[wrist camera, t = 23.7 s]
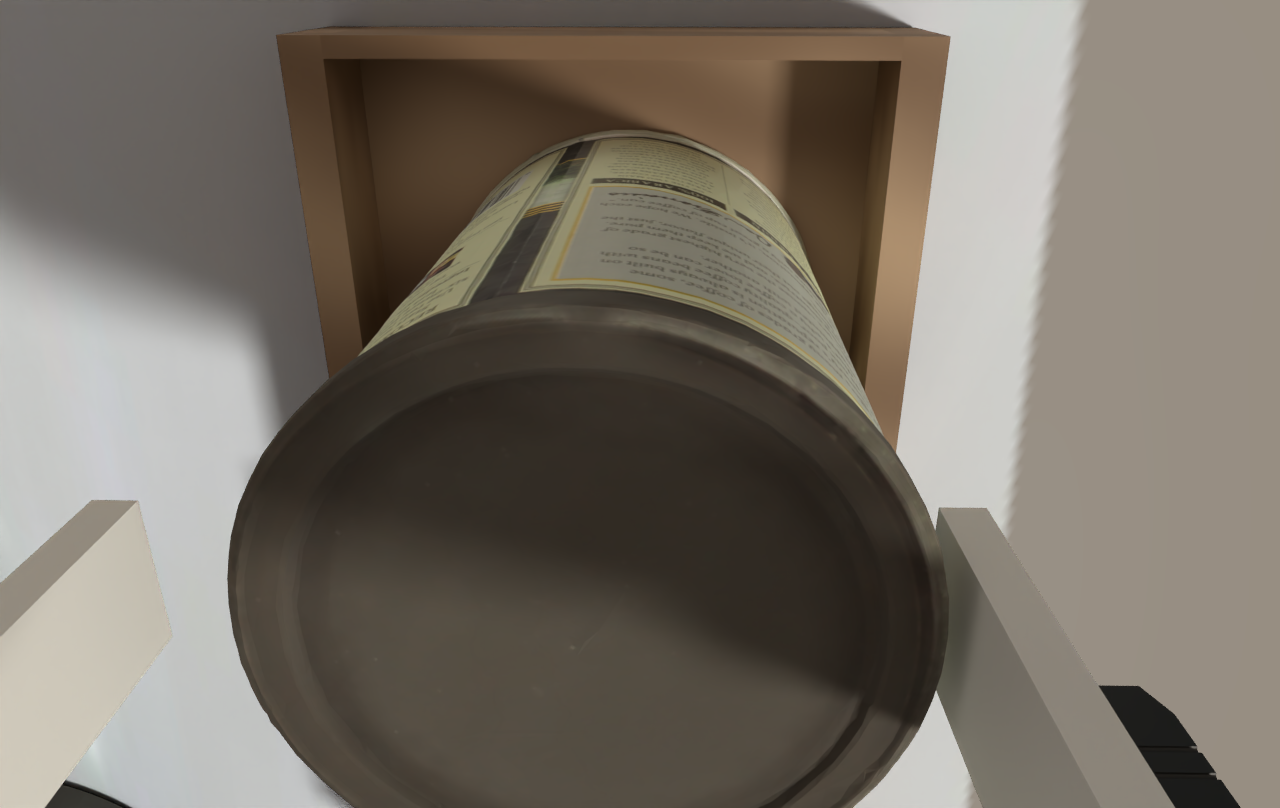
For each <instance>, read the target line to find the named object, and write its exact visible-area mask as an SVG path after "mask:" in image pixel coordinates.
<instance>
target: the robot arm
mask: <svg viewBox="0 0 1280 808" xmlns="http://www.w3.org/2000/svg"><path fill="white" fill-rule="evenodd" d="M935 532H936V534H937V537H938V540H939V543H940V547H941V550H942V554H943V561H944V568H945V573H946V582H947V588H948V595H949V626H948V641H947V647H946V653H945V658H944V664H943V669H942V674H941V677H940V680H939V682H938V685H937V688H936V691H937V693H938V696H939V698H940V701H941V703H942V706H943V708H944V711H945V713H946V716H947V719H948V721H949V724H950V726H951V729H952V731H953V734H954V736H955V739H956V741H957V744H958V746H959V749H960V751H961V754H962V756H963V759H964V761H965V764H966V767H967V769H968V772H969V774H970V777H971V779H972V782H973V784H974V787H975V789H976V792H977V794H978V797H979V799H980V802H981V804H982V807H983V808H1240V806H1239V805H1238V803H1237V802H1236V801H1235V799H1234V798H1233V796H1232V795H1231V794H1230V792H1229V791H1228V789H1227V788H1226V786H1225V785H1224V783H1223V782H1222V781H1221V780H1217V778H1216V772H1215V771H1214V769H1213V768H1212V767H1211V765H1210V764H1209V762H1208V761H1207V760H1206V758H1205V757H1204V755H1203V754H1202V753H1198V751H1197V745H1196V744H1195V743H1194V741H1193V740H1192V738H1191V737H1190V736H1189V734H1188V733H1187V731H1186V730H1185V729H1184V727H1183V726H1182V724H1181V723H1180V721H1179V720H1178V719H1177V717H1176V716H1175V715H1174V714H1173V713H1172V712H1171V711H1169V710H1168V709H1167V708H1166V707H1165V706H1163V705H1162V704H1161V703H1160V702H1158V701H1157V700H1156V699H1155V698H1153V697H1152V696H1151V695H1149V694H1148V693H1147V692H1145V691H1144V690H1143V689H1142V688H1141V687H1139V686H1098V684H1097V683H1096V681H1095V680H1094V678H1093V676H1092V675H1091V673H1090V672H1089V670H1088V669H1087V667H1086V665H1085V664H1084V662H1083V661H1082V659H1081V657H1080V656H1079V654H1078V653H1077V651H1076V649H1075V648H1074V646H1073V645H1072V643H1071V642H1070V640H1069V638H1068V637H1067V635H1066V634H1065V632H1064V630H1063V629H1062V627H1061V626H1060V624H1059V622H1058V621H1057V619H1056V618H1055V616H1054V615H1053V613H1052V611H1051V610H1050V608H1049V607H1048V605H1047V603H1046V602H1045V600H1044V599H1043V597H1042V595H1041V594H1040V592H1039V591H1038V589H1037V588H1036V586H1035V584H1034V583H1033V581H1032V580H1031V578H1030V577H1029V575H1028V573H1027V572H1026V570H1025V568H1024V567H1023V565H1022V564H1021V562H1020V561H1019V559H1018V558H1017V556H1016V554H1015V553H1014V551H1013V549H1012V548H1011V546H1010V545H1009V543H1008V541H1007V540H1006V538H1005V537H1004V535H1003V533H1002V532H1001V530H1000V529H999V527H998V526H997V524H996V522H995V521H994V519H993V518H992V516H991V514H990V513H989V511H988V510H987V508H939V512H938V518H937V525H936V531H935ZM171 638H172V632H171V628H170V624H169V620H168V616H167V612H166V609H165V605H164V601H163V597H162V593H161V589H160V585H159V581H158V577H157V573H156V569H155V566H154V562H153V558H152V554H151V550H150V546H149V542H148V538H147V534H146V530H145V526H144V523H143V519H142V515H141V511H140V507H139V503H138V501H119V500H92V501H90V502H89V503H88V504H87V505H86V506H85V507H84V508H83V509H82V510H81V511H79V512H78V513H77V514H76V515H75V516H74V517H73V518H72V519H71V520H70V521H68V522H67V523H66V524H65V525H64V526H63V527H62V528H61V529H60V530H59V531H57V532H56V533H55V534H54V535H53V536H52V537H51V538H50V539H49V540H48V541H46V542H45V543H44V544H43V545H42V546H41V547H40V548H39V549H38V550H37V551H35V552H34V553H33V554H32V555H31V556H30V557H29V558H28V559H27V560H26V561H25V562H23V563H22V564H21V565H20V566H19V567H18V568H17V569H16V570H15V571H14V572H12V573H11V574H10V575H9V576H8V577H7V578H6V579H5V580H4V581H3V582H1V583H0V808H122V807H120V806H118V805H116V804H114V803H112V802H109V801H107V800H105V799H102V798H100V797H97V796H95V795H92V794H89V793H87V792H84V791H81V790H78V789H74V788H71V787H68V786H64V785H62V784H63V782H64V781H65V780H66V778H67V777H68V776H69V774H70V773H71V772H72V770H73V769H74V768H75V766H76V765H77V764H78V762H79V761H80V760H81V758H82V757H83V756H84V754H85V753H86V752H87V750H88V749H89V748H90V746H91V745H92V744H93V742H94V741H95V740H96V738H97V737H98V736H99V734H100V733H101V731H102V730H103V729H104V727H105V726H106V725H107V723H108V722H109V721H110V719H111V718H112V717H113V715H114V714H115V713H116V711H117V710H118V709H119V707H120V706H121V705H122V703H123V702H124V701H125V699H126V698H127V697H128V695H129V694H130V693H131V691H132V690H133V689H134V687H135V686H136V685H137V683H138V682H139V681H140V679H141V678H142V676H143V675H144V674H145V672H146V671H147V670H148V668H149V667H150V666H151V664H152V663H153V662H154V660H155V659H156V658H157V656H158V655H159V654H160V652H161V651H162V650H163V648H164V647H165V646H166V644H167V643H168V642H169V640H170V639H171Z"/></svg>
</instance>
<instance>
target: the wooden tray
mask: <svg viewBox="0 0 1280 808" xmlns="http://www.w3.org/2000/svg"><path fill="white" fill-rule="evenodd" d="M276 38H277V44H278V51H279V57H280V63H281V70H282V76H283V83H284V89H285V96H286V102H287V109H288V115H289V122H290V128H291V134H292V141H293V147H294V154H295V160H296V167H297V173H298V180H299V186H300V193H301V199H302V205H303V212H304V218H305V225H306V231H307V238H308V244H309V251H310V257H311V264H312V270H313V276H314V283H315V289H316V296H317V302H318V309H319V315H320V322H321V328H322V335H323V341H324V347H325V354H326V360H327V367H328V373H329V379H330V378H331V377H332V376H333V375H335V374H336V373H337V372H338V371H339V370H341V369H342V368H343V367H344V366H346V365H347V364H348V363H349V362H350V361H352V360H353V359H355V358H356V357H358V355H359V354H360V353H361V352H362V351H363V349H364V348H365V347H366V346H367V345H368V344H369V342H370V341H371V340H372V339H373V338H374V336H375V335H376V334H377V333H378V332H379V330H380V329H381V328H382V326H383V325H384V324H385V322H386V321H387V320H388V319H389V317H390V316H391V315H392V313H393V312H394V311H395V310H396V309H397V308H398V306H399V305H400V304H401V303H402V302H403V301H404V299H405V298H407V297H408V296H409V294H410V293H411V292H412V291H413V290H414V288H415V287H416V286H417V285H418V284H419V283H420V281H421V280H422V279H423V278H424V277H425V276H426V274H427V273H428V272H429V271H430V270H431V268H432V267H433V266H434V265H435V264H436V262H437V261H438V260H439V259H440V258H441V256H442V255H443V254H444V253H445V251H446V250H447V249H448V248H449V246H450V245H451V244H452V243H453V242H454V240H455V239H456V238H457V237H458V236H459V234H460V233H461V232H462V231H463V230H464V228H465V227H466V226H467V225H468V224H469V222H470V221H471V220H472V218H473V216H474V214H475V213H476V211H477V209H478V208H479V207H480V205H481V204H482V203H483V201H484V200H485V199H486V197H487V196H488V195H489V193H490V192H491V191H492V190H493V189H494V188H495V187H496V186H497V185H498V184H499V183H500V182H501V181H502V180H503V179H504V178H505V177H506V176H507V175H508V174H510V173H511V172H512V171H513V170H514V169H515V168H517V167H518V166H519V165H521V164H522V163H524V162H525V161H527V160H528V159H529V158H530V157H532V156H533V155H534V154H536V153H539V152H541V151H543V150H545V149H547V148H549V147H551V146H553V145H555V144H558V143H560V142H563V141H566V140H569V139H572V138H576V137H579V136H582V135H586V134H591V133H597V132H603V131H610V130H648V131H653V132H659V133H665V134H674V135H680V136H683V137H685V138H687V139H690V140H692V141H694V142H697V143H700V144H702V145H705V146H707V147H709V148H711V149H714V150H716V151H718V152H720V153H721V154H723V155H725V156H727V157H728V158H730V159H732V160H734V161H735V162H736V163H738V164H739V165H741V166H742V167H744V168H745V169H747V170H749V171H750V172H751V173H752V174H753V175H754V176H755V177H756V178H757V179H758V180H759V181H760V182H761V183H762V184H763V185H764V186H765V187H767V188H768V189H769V190H770V191H771V192H772V194H773V195H774V196H775V197H776V198H777V200H778V201H779V202H780V204H781V205H782V206H783V208H784V209H785V211H786V212H787V213H788V215H789V216H790V218H791V219H792V221H793V222H794V224H795V226H796V228H797V230H798V231H799V233H800V236H801V238H802V241H803V244H804V246H805V249H806V252H807V255H808V257H809V261H810V265H811V269H812V273H813V275H814V277H815V279H816V282H817V284H818V286H819V288H820V290H821V292H822V295H823V297H824V300H825V302H826V305H827V307H828V309H829V311H830V314H831V316H832V319H833V321H834V323H835V326H836V328H837V330H838V333H839V335H840V338H841V340H842V342H843V344H844V346H845V349H846V351H847V353H848V355H849V358H850V360H851V362H852V364H853V367H854V369H855V371H856V373H857V376H858V378H859V380H860V382H861V385H862V387H863V389H864V391H865V394H866V396H867V398H868V400H869V403H870V405H871V407H872V410H873V412H874V414H875V417H876V419H877V421H878V424H879V426H880V428H881V431H882V433H883V435H884V437H885V438H886V440H887V441H888V442H889V443H890V445H891V446H892V448H893V449H894V451H895V453H896V447H897V440H898V432H899V424H900V417H901V409H902V402H903V394H904V386H905V379H906V371H907V364H908V356H909V348H910V341H911V333H912V326H913V318H914V310H915V303H916V295H917V288H918V280H919V272H920V265H921V257H922V250H923V242H924V234H925V227H926V219H927V212H928V204H929V196H930V189H931V181H932V174H933V166H934V158H935V151H936V143H937V136H938V128H939V120H940V113H941V105H942V98H943V90H944V82H945V75H946V67H947V59H948V52H949V44H950V36H946V35H942V34H938V33H934V32H930V31H926V30H922V29H918V28H827V27H324V28H317V29H311V30H305V31H298V32H292V33H286V34H279V35H276Z"/></svg>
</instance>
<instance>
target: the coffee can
mask: <svg viewBox="0 0 1280 808" xmlns="http://www.w3.org/2000/svg"><path fill="white" fill-rule="evenodd" d="M227 579H228V599H229V609H230V615H231V622H232V628H233V635H234V638H235V642H236V645H237V648H238V652H239V656H240V661H241V664H242V666H243V668H244V670H245V673H246V675H247V677H248V680H249V682H250V685H251V687H252V689H253V691H254V693H255V695H256V697H257V699H258V701H259V703H260V705H261V706H262V708H263V710H264V711H265V712H266V713H267V715H268V717H269V719H270V721H271V723H272V724H273V725H274V726H275V727H276V728H277V730H278V731H279V732H280V733H281V735H282V736H283V737H284V739H285V740H286V741H287V743H288V744H289V746H290V747H291V748H292V749H293V751H294V752H295V753H296V755H297V756H298V757H299V758H300V759H301V760H302V761H303V762H304V763H305V764H306V765H307V766H308V767H309V768H310V769H311V770H312V771H313V772H314V773H315V774H316V775H317V776H318V777H319V778H320V779H321V780H322V781H324V782H325V783H326V784H327V785H328V786H329V787H330V788H331V789H332V790H334V791H335V792H336V793H337V794H338V795H340V796H341V797H342V798H343V799H344V800H346V801H347V802H348V803H349V804H351V805H352V806H353V807H355V808H853V807H854V806H855V805H856V804H857V803H858V802H859V801H861V800H862V799H863V798H864V797H865V796H866V795H867V794H868V793H869V792H870V791H871V790H872V789H873V788H875V787H876V785H877V784H878V783H879V782H880V781H881V780H882V779H883V778H884V777H885V776H886V774H887V773H888V772H889V771H890V769H891V768H892V767H893V765H894V764H895V763H896V762H897V761H898V759H899V758H900V756H901V755H902V754H903V752H904V751H905V750H906V748H907V747H908V746H909V744H910V743H911V741H912V740H913V738H914V736H915V735H916V733H917V732H918V730H919V728H920V726H921V724H922V722H923V720H924V718H925V716H926V713H927V711H928V709H929V707H930V705H931V702H932V699H933V697H934V694H935V691H936V688H937V685H938V682H939V680H940V677H941V674H942V669H943V664H944V658H945V653H946V647H947V641H948V626H949V595H948V588H947V582H946V573H945V568H944V561H943V554H942V550H941V547H940V543H939V540H938V537H937V534H936V532H935V529H934V526H933V524H932V521H931V519H930V516H929V513H928V511H927V508H926V506H925V504H924V502H923V500H922V498H921V497H920V495H919V493H918V491H917V489H916V487H915V485H914V483H913V481H912V479H911V478H910V476H909V474H908V472H907V471H906V469H905V467H904V466H903V464H902V463H901V461H900V459H899V458H898V456H897V454H896V453H895V451H894V449H893V448H892V446H891V445H890V443H889V442H888V441H887V440H886V438H885V437H884V435H883V433H882V431H881V428H880V426H879V424H878V421H877V419H876V417H875V414H874V412H873V410H872V407H871V405H870V403H869V400H868V398H867V396H866V394H865V391H864V389H863V387H862V385H861V382H860V380H859V378H858V376H857V373H856V371H855V369H854V367H853V364H852V362H851V360H850V358H849V355H848V353H847V351H846V349H845V346H844V344H843V342H842V340H841V338H840V335H839V333H838V330H837V328H836V326H835V323H834V321H833V319H832V316H831V314H830V311H829V309H828V307H827V305H826V302H825V300H824V297H823V295H822V292H821V290H820V288H819V286H818V284H817V282H816V279H815V277H814V275H813V273H812V269H811V265H810V261H809V257H808V255H807V252H806V249H805V246H804V244H803V241H802V238H801V236H800V233H799V231H798V230H797V228H796V226H795V224H794V222H793V221H792V219H791V218H790V216H789V215H788V213H787V212H786V211H785V209H784V208H783V206H782V205H781V204H780V202H779V201H778V200H777V198H776V197H775V196H774V195H773V194H772V192H771V191H770V190H769V189H768V188H767V187H765V186H764V185H763V184H762V183H761V182H760V181H759V180H758V179H757V178H756V177H755V176H754V175H753V174H752V173H751V172H750V171H749V170H747V169H745V168H744V167H742V166H741V165H739V164H738V163H736V162H735V161H734V160H732V159H730V158H728V157H727V156H725V155H723V154H721V153H720V152H718V151H716V150H714V149H711V148H709V147H707V146H705V145H702V144H700V143H697V142H694V141H692V140H690V139H687V138H685V137H683V136H680V135H674V134H665V133H659V132H653V131H648V130H610V131H603V132H597V133H591V134H586V135H582V136H579V137H576V138H572V139H569V140H566V141H563V142H560V143H558V144H555V145H553V146H551V147H549V148H547V149H545V150H543V151H541V152H539V153H536V154H534V155H533V156H532V157H530V158H529V159H528V160H527V161H525V162H524V163H522V164H521V165H519V166H518V167H517V168H515V169H514V170H513V171H512V172H511V173H510V174H508V175H507V176H506V177H505V178H504V179H503V180H502V181H501V182H500V183H499V184H498V185H497V186H496V187H495V188H494V189H493V190H492V191H491V192H490V193H489V195H488V196H487V197H486V199H485V200H484V201H483V203H482V204H481V205H480V207H479V208H478V209H477V211H476V213H475V214H474V216H473V218H472V220H471V221H470V222H469V224H468V225H467V226H466V227H465V228H464V230H463V231H462V232H461V233H460V234H459V236H458V237H457V238H456V239H455V240H454V242H453V243H452V244H451V245H450V246H449V248H448V249H447V250H446V251H445V253H444V254H443V255H442V256H441V258H440V259H439V260H438V261H437V262H436V264H435V265H434V266H433V267H432V268H431V270H430V271H429V272H428V273H427V274H426V276H425V277H424V278H423V279H422V280H421V281H420V283H419V284H418V285H417V286H416V287H415V288H414V290H413V291H412V292H411V293H410V294H409V296H408V297H407V298H405V299H404V301H403V302H402V303H401V304H400V305H399V306H398V308H397V309H396V310H395V311H394V312H393V313H392V315H391V316H390V317H389V319H388V320H387V321H386V322H385V324H384V325H383V326H382V328H381V329H380V330H379V332H378V333H377V334H376V335H375V336H374V338H373V339H372V340H371V341H370V342H369V344H368V345H367V346H366V347H365V348H364V349H363V351H362V352H361V353H360V354H359V355H358V357H356V358H355V359H353V360H352V361H350V362H349V363H348V364H347V365H346V366H344V367H343V368H342V369H341V370H339V371H338V372H337V373H336V374H335V375H333V376H332V377H331V378H330V379H328V380H327V381H326V382H325V383H324V384H323V385H322V386H321V387H320V388H319V389H318V390H317V391H316V392H315V393H314V394H313V395H312V396H311V397H310V398H309V399H308V400H307V401H306V402H305V403H304V404H303V405H302V406H301V407H300V408H299V409H298V410H297V411H296V412H295V413H294V414H293V415H292V417H291V418H290V419H289V420H288V421H287V423H286V424H285V425H284V426H283V427H282V429H281V430H280V431H279V432H278V433H277V435H276V436H275V437H274V439H273V440H272V442H271V443H270V444H269V446H268V447H267V448H266V450H265V451H264V453H263V454H262V456H261V458H260V460H259V462H258V464H257V466H256V468H255V470H254V472H253V474H252V475H251V477H250V479H249V482H248V484H247V486H246V489H245V491H244V493H243V496H242V498H241V500H240V503H239V505H238V509H237V513H236V518H235V522H234V526H233V530H232V534H231V540H230V549H229V560H228V578H227Z"/></svg>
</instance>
